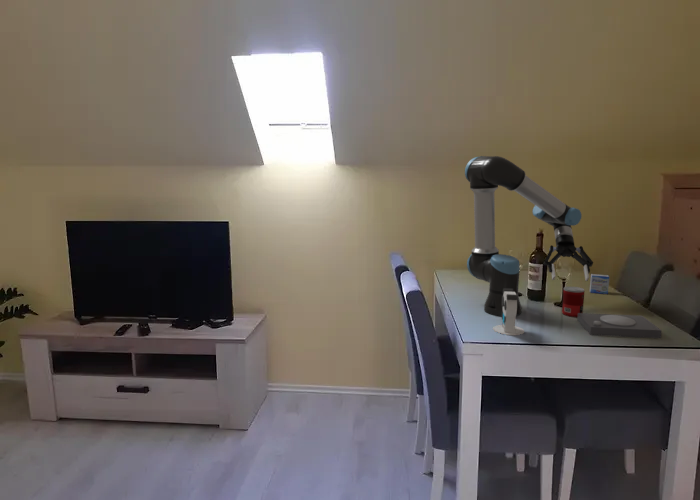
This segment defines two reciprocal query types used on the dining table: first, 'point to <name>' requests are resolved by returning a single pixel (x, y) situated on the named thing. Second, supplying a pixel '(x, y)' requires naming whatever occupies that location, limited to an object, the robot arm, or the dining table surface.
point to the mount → (618, 325)
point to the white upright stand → (509, 314)
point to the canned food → (572, 301)
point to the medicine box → (599, 284)
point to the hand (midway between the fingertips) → (570, 278)
